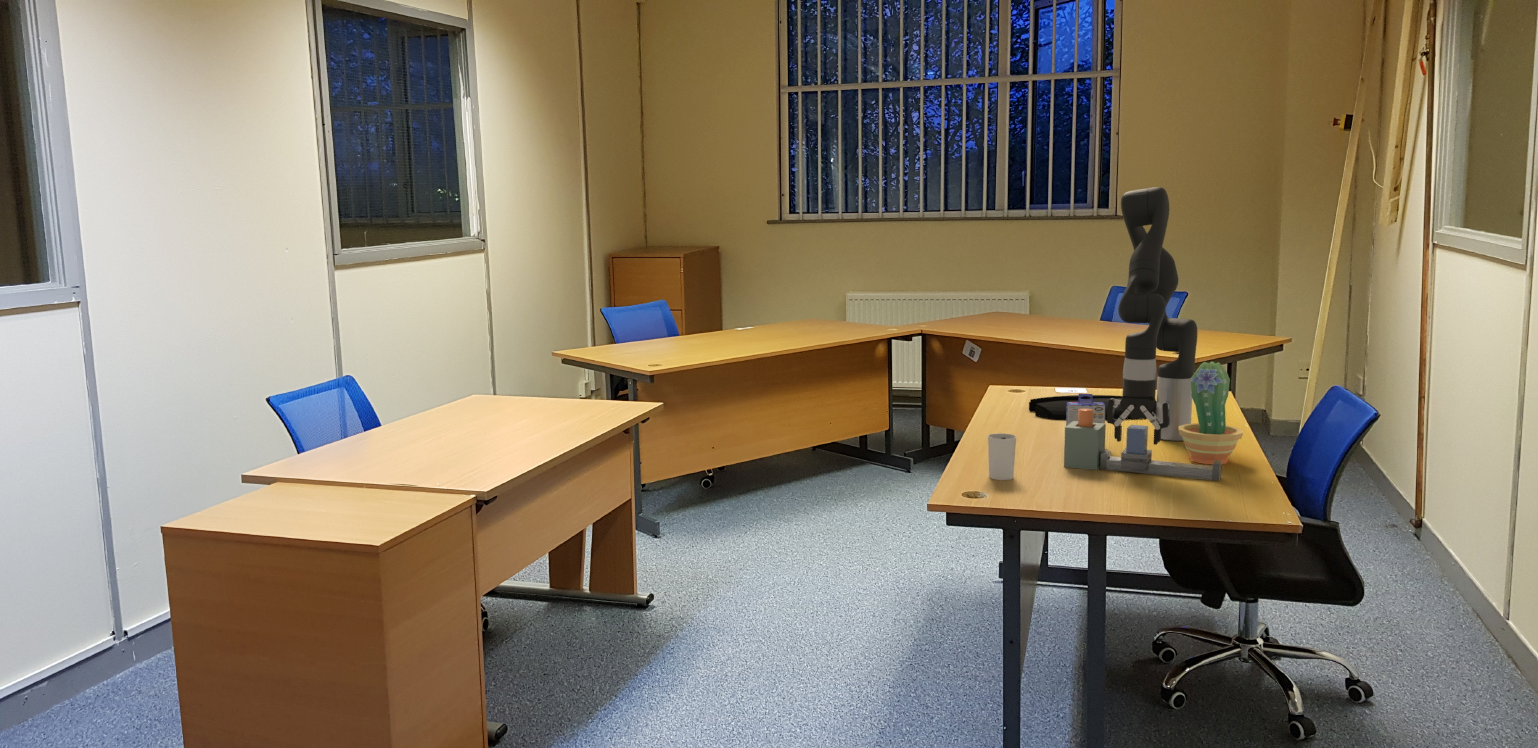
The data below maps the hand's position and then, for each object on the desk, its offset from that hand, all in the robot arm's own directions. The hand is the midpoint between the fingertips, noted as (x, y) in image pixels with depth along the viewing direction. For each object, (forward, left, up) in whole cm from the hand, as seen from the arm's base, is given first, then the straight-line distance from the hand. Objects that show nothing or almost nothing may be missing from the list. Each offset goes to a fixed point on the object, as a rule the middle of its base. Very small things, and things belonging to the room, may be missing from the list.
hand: (1137, 442), depth 257 cm
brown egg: (-1, -13, 0) cm, 13 cm away
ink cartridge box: (-20, -17, -7) cm, 27 cm away
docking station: (-72, -24, -8) cm, 76 cm away
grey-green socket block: (-1, -13, -7) cm, 14 cm away
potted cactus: (-19, +14, -7) cm, 25 cm away
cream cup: (+20, -28, -7) cm, 35 cm away
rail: (0, +5, -7) cm, 9 cm away
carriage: (0, 0, -7) cm, 7 cm away
